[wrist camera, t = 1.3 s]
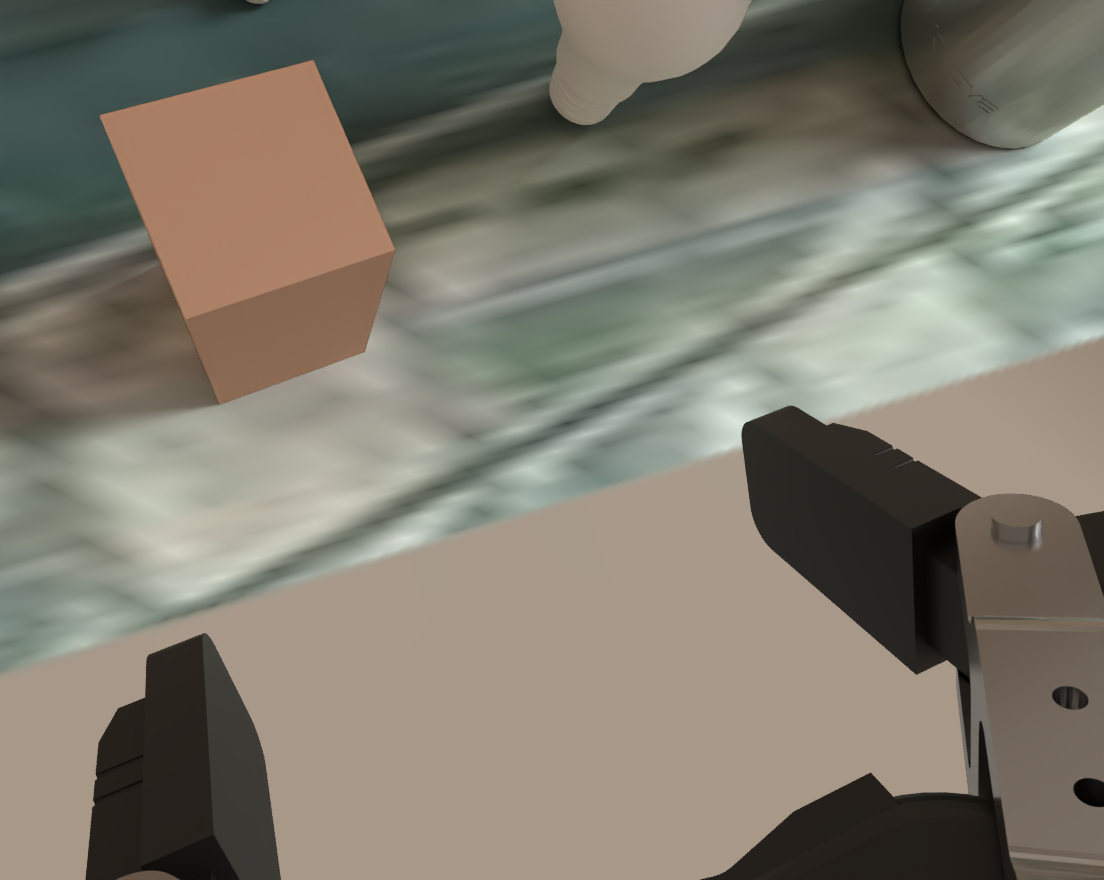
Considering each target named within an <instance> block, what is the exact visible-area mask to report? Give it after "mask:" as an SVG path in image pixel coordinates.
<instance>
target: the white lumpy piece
mask: <svg viewBox="0 0 1104 880" xmlns="http://www.w3.org/2000/svg"><path fill="white" fill-rule="evenodd" d="M246 1H248V2H250V3H253V4H256V3H257V4H264V3H266V2H268V1H269V0H246Z"/></svg>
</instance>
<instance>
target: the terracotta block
mask: <svg viewBox="0 0 1104 880" xmlns="http://www.w3.org/2000/svg"><path fill="white" fill-rule="evenodd" d="M99 116H100V118H101V120H102V123H103V125H104V128H105V130H106V133H107V135H108V138H109V140H110V142H111V145H112V147H113V150H114V152H115V155H116V157H117V160H118V162H119V164H120V167H121V169H122V172H123V174H124V177H125V179H126V181H127V184H128V186H129V189H130V191H131V194H132V196H133V199H134V201H135V203H136V206H137V208H138V211H139V213H140V216H141V218H142V221H143V223H144V225H145V228H146V230H147V233H148V235H149V238H150V240H151V243H152V245H153V247H154V250H155V252H156V255H157V257H158V260H159V262H160V264H161V267H162V269H163V272H164V274H165V276H166V279H167V281H168V283H169V286H170V288H171V291H172V293H173V295H174V298H175V300H176V302H177V305H178V307H179V310H180V312H181V314H182V317H183V319H184V321H185V324H186V326H187V328H188V331H189V333H190V336H191V338H192V340H193V343H194V345H195V347H196V350H197V352H198V355H199V357H200V359H201V362H202V364H203V366H204V369H205V371H206V374H207V376H208V378H209V381H210V383H211V385H212V388H213V390H214V393H215V395H216V397H217V400H218V402H219V404H223V403H225V402H228V401H231V400H234V399H236V398H239V397H242V396H245V395H247V394H250V393H253V392H256V391H258V390H261V389H264V388H267V387H269V386H272V385H275V384H278V383H280V382H283V381H286V380H289V379H291V378H294V377H297V376H300V375H302V374H305V373H308V372H311V371H313V370H316V369H319V368H322V367H324V366H327V365H330V364H333V363H335V362H338V361H341V360H344V359H346V358H349V357H352V356H355V355H357V354H360V353H363V352H365V349H366V346H367V342H368V339H369V336H370V332H371V329H372V326H373V322H374V319H375V316H376V312H377V309H378V306H379V302H380V299H381V296H382V292H383V289H384V286H385V282H386V279H387V276H388V272H389V269H390V266H391V262H392V259H393V256H394V252H395V248H394V246H393V243H392V241H391V239H390V237H389V234H388V232H387V230H386V227H385V225H384V223H383V220H382V218H381V216H380V213H379V211H378V209H377V206H376V204H375V202H374V199H373V197H372V195H371V193H370V190H369V188H368V186H367V183H366V181H365V179H364V176H363V174H362V172H361V169H360V167H359V165H358V162H357V160H356V158H355V155H354V153H353V151H352V149H351V146H350V144H349V142H348V139H347V137H346V135H345V132H344V130H343V128H342V125H341V123H340V121H339V118H338V116H337V114H336V111H335V109H334V107H333V105H332V102H331V100H330V98H329V95H328V93H327V91H326V88H325V86H324V84H323V81H322V79H321V77H320V74H319V72H318V70H317V67H316V65H315V63H314V61H313V60H312V61H308V62H304V63H300V64H296V65H293V66H289V67H285V68H281V69H277V70H273V71H269V72H265V73H262V74H258V75H254V76H250V77H246V78H242V79H238V80H234V81H231V82H227V83H223V84H219V85H215V86H211V87H207V88H204V89H200V90H196V91H192V92H188V93H184V94H180V95H176V96H173V97H169V98H165V99H161V100H157V101H153V102H149V103H145V104H142V105H138V106H134V107H130V108H126V109H122V110H118V111H114V112H111V113H107V114H103V115H99Z"/></svg>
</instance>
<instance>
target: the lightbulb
mask: <svg viewBox="0 0 1104 880" xmlns="http://www.w3.org/2000/svg"><path fill="white" fill-rule="evenodd" d="M553 1H554V5H555V8H556V12H557V15H558V18H559V21H560V23H561V26H562V35H561V37H560V40H559V43H558V47H557V55H556V61H557V63H556V65H555V68H554V70H553V74H552V77H551V80H550V84H549V93H550V98H551V101H552V103H553V105H554V107H555V108H556V110H557V111H558V112H559V113H560V114H561V115H562V116H563V117H564V118H566V119H568V120H569V121H571V122H574V123H576V124H581V125H591V124H596V123H598V122H600V121H602V120H603V119H604V118H606V116H608V115H609V114H610V112H611V111H612V110H613V109H614V108H615V107H616V105H617V104H618V103H619V102H621V101H623V100H625V99H627V98H628V97H629V96H631V95H632V94H633V93H634V91H635V90H636V89H637V88H638V87H639V85H641V84H642V83H643V82H655V81H660V80H665V79H670V78H675V77H679V76H682V75H685V74H687V73H689V72H691V71H693V70H695V69H697V68H699V67H700V66H702V65H703V64H705V63H706V62H708V61H709V60H710V59H712V58H713V57H714V56H715V55H717V54H718V53H719V52H721V50H722V49H723V48H724V47H725V45H726V44H727V43H728V42H729V40H730V39H731V38H732V37H733V35H734V34H735V33H736V32H737V30H738V29H739V27H740V25H741V23H742V21H743V19H744V17H745V15H746V12H747V10H748V8H749V5H750V3H751V1H752V0H553Z"/></svg>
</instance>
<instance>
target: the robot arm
mask: <svg viewBox="0 0 1104 880" xmlns="http://www.w3.org/2000/svg"><path fill="white" fill-rule="evenodd" d="M901 40H902V45H903V50H904V55H905V59H906V62H907V64H908V67H909V69H910V72H911V74H912V77H913V79H914V81H915V83H916V85H917V86H918V88H919V89H920V91H921V93H922V94H923V96H924V98H925V99H926V101H927V102H928V103H929V104H930V105H931V106H932V107H933V109H934V110H935V111H936V112H937V113H938V114H939V115H940V117H941V118H943V119H944V120H945V121H946V122H948V123H949V124H950V125H951V126H953V127H954V128H955V129H956V130H957V131H959V132H961V133H963V134H964V135H966V136H968V137H970V138H972V139H974V140H975V141H978V142H981V143H984V144H987V145H991V146H994V147H1001V148H1014V149H1015V148H1021V147H1026V146H1032V145H1034V144H1036V143H1038V142H1040V141H1043V140H1045V139H1047V138H1049V137H1050V136H1052V135H1054V134H1055V133H1057V132H1059V131H1060V130H1062V129H1064V128H1065V127H1067V126H1069V125H1070V124H1072V123H1074V122H1075V121H1077V120H1079V119H1080V118H1082V117H1084V116H1085V115H1087V114H1089V113H1090V112H1092V111H1094V110H1095V109H1097V108H1099V107H1100V106H1102V105H1104V0H904V3H903V9H902V14H901ZM742 445H743V453H744V460H745V468H746V475H747V483H748V491H749V499H750V506H751V512H752V516H753V519H754V522H755V524H756V527H757V529H758V531H759V533H760V535H761V537H762V538H763V540H764V541H765V543H766V544H767V545H768V546H769V547H770V548H771V549H772V550H773V551H774V552H775V553H776V554H778V555H779V556H780V557H781V558H782V559H783V560H785V561H786V562H787V563H788V564H789V565H790V566H791V567H793V568H794V569H795V570H796V571H797V572H798V573H800V574H801V575H802V576H803V577H804V578H805V579H807V580H808V581H809V582H810V583H811V584H812V585H813V586H815V587H816V588H817V589H818V590H819V591H820V592H821V593H823V594H824V595H825V596H826V597H827V598H828V599H830V600H831V601H832V602H833V603H834V604H836V605H837V606H838V607H839V608H840V609H841V610H842V611H843V612H845V613H846V614H847V615H848V616H849V617H850V618H852V619H853V620H854V621H855V622H856V623H857V624H859V625H860V626H861V627H862V628H863V629H864V630H865V631H866V632H868V633H869V634H870V635H871V636H872V637H874V638H875V639H876V640H877V641H878V642H879V643H880V644H881V645H883V646H884V647H885V648H886V649H887V650H888V651H890V652H891V653H892V654H893V655H894V656H895V657H897V658H898V659H899V660H900V661H901V662H902V663H903V664H905V665H906V666H907V667H908V668H909V669H910V670H911V671H913V672H914V673H915V674H916V675H917V674H919V673H921V672H923V671H925V670H927V669H929V668H931V667H933V666H935V665H938V664H940V663H942V662H944V661H946V660H948V661H949V662H950V663H951V664H953V665H954V666H955V667H956V689H957V697H958V706H959V715H960V724H961V732H962V741H963V750H964V758H965V768H966V776H967V785H968V794H957V793H916V794H908V795H900V796H895V797H893V796H892V795H891V794H890V793H889V792H888V791H887V790H886V789H885V787H884V786H883V785H882V784H881V783H880V782H879V781H878V780H877V779H876V778H875V777H874V776H873V775H872V774H871V773H869V774H867V775H865V776H863V777H861V778H859V779H857V780H855V781H853V782H851V783H849V784H847V785H845V786H843V787H841V788H839V789H838V790H835V791H834V792H831V793H829V794H827V795H826V796H824V797H822V798H820V799H818V800H816V801H814V802H812V803H810V804H808V805H806V806H804V807H802V808H800V809H798V810H796V811H794V812H793V813H792V814H791V815H789V816H788V817H787V818H786V819H785V820H784V821H783V822H782V823H780V824H779V825H778V826H777V827H776V828H775V829H774V830H773V831H772V832H770V833H769V834H768V835H767V836H766V837H765V838H764V839H763V840H761V841H760V842H759V843H758V844H757V845H756V846H755V847H754V848H752V849H751V850H750V851H749V852H748V853H747V854H746V855H745V856H743V857H742V859H740V860H739V861H738V862H737V863H736V864H735V865H733V866H732V867H731V868H730V869H728V870H727V871H726V872H724V873H722V874H720V875H717V876H714V877H709V878H705V879H701V880H1104V511H1102V512H1097V513H1091V514H1086V515H1080V516H1074V514H1073V513H1072V512H1070V511H1069V510H1068V509H1067V508H1065V507H1063V506H1062V505H1060V504H1058V503H1055V502H1053V501H1051V500H1048V499H1045V498H1041V497H1037V496H1032V495H1024V494H998V495H992V496H987V497H983V498H982V497H980V496H978V495H976V494H974V493H973V492H971V491H969V490H968V489H966V488H964V487H963V486H961V485H959V484H957V483H956V482H954V481H952V480H950V479H949V478H947V477H945V476H943V475H942V474H940V473H938V472H937V471H935V470H933V469H931V468H930V467H928V466H926V465H924V464H923V463H921V462H920V461H916V462H914V460H913V458H912V457H911V456H909V455H907V454H906V453H904V452H902V451H901V450H899V449H895V450H894V449H893V447H892V445H890V444H888V443H887V442H885V441H883V440H881V439H880V438H878V437H876V436H875V435H873V434H871V433H869V432H868V431H864V430H860V429H856V428H852V427H848V426H844V425H840V424H836V423H832V424H830V425H825V424H823V423H822V422H820V421H818V420H817V419H815V418H813V417H812V416H810V415H808V414H807V413H805V412H803V411H802V410H800V409H799V408H797V407H795V406H787V407H784V408H782V409H779V410H777V411H774V412H772V413H769V414H767V415H764V416H761V417H759V418H756V419H754V420H751V421H749V422H747V423H745V424H744V426H743V428H742ZM146 663H147V664H146V693H145V698H143V699H140V700H138V701H136V702H133V703H131V704H128V705H126V706H123V707H120V708H118V710H117V712H116V713H115V715H114V717H113V719H112V720H111V722H110V724H109V726H108V727H107V729H106V731H105V732H104V734H103V736H102V738H101V739H100V741H99V744H98V755H97V765H96V776H97V780H95V786H94V797H93V801H94V803H95V806H93V808H92V818H91V829H90V839H89V849H88V860H87V870H86V880H281V877H280V869H279V863H278V855H277V847H276V839H275V832H274V824H273V817H272V810H271V802H270V794H269V787H268V780H267V773H266V765H265V759H264V754H263V750H262V747H261V743H260V740H259V737H258V734H257V732H256V729H255V726H254V724H253V722H252V719H251V717H250V715H249V713H248V711H247V709H246V707H245V705H244V703H243V701H242V699H241V697H240V695H239V693H238V691H237V689H236V687H235V685H234V683H233V681H232V679H231V677H230V675H229V673H228V671H227V669H226V667H225V665H224V663H223V661H222V659H221V657H220V655H219V653H218V651H217V649H216V647H215V645H214V643H213V642H212V640H211V639H210V637H209V636H208V635H207V634H206V633H203V634H201V635H198V636H195V637H193V638H190V639H188V640H186V641H183V642H180V643H178V644H175V645H173V646H170V647H168V648H165V649H162V650H160V651H157V652H155V653H152V654H150V655H148V657H147V662H146Z"/></svg>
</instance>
